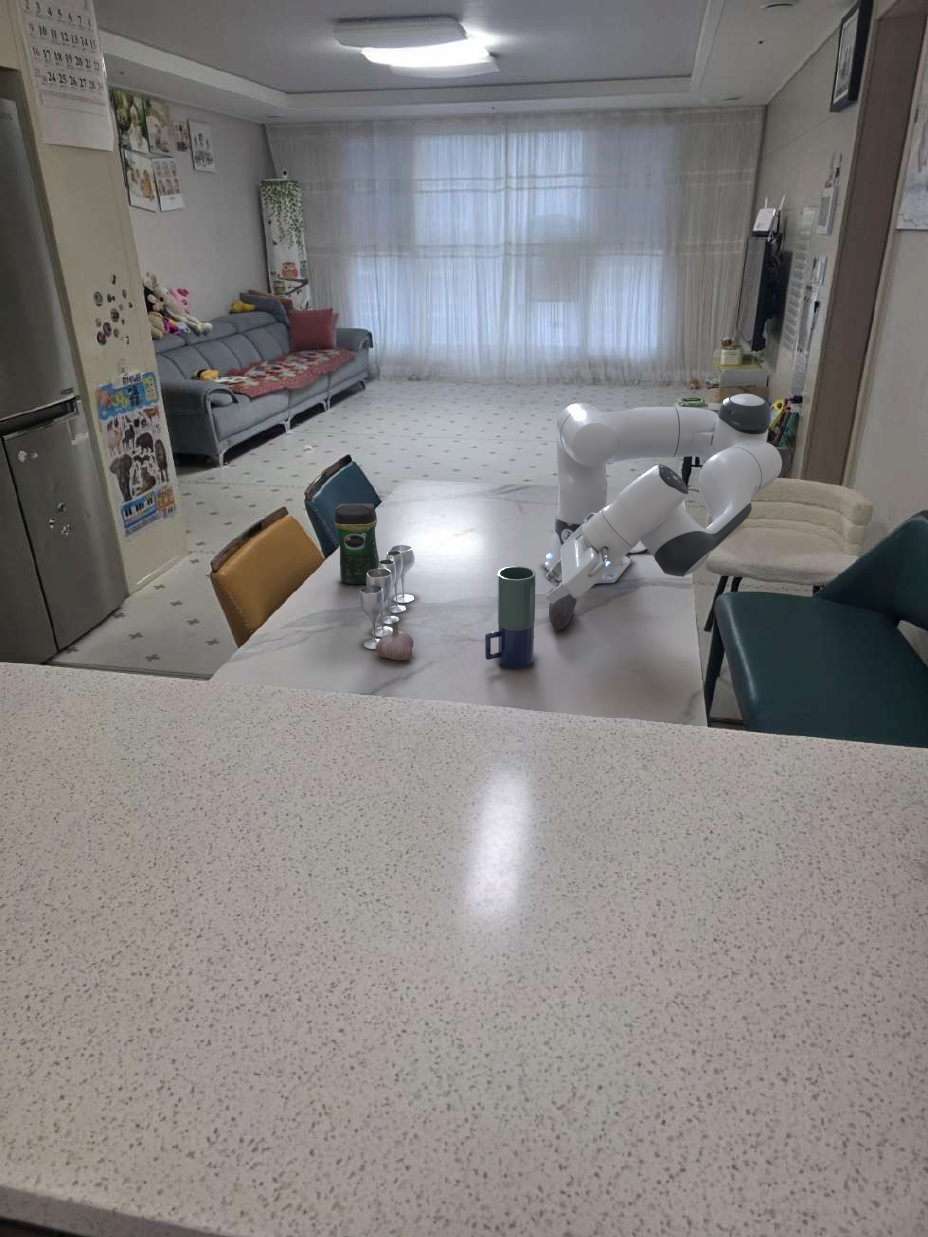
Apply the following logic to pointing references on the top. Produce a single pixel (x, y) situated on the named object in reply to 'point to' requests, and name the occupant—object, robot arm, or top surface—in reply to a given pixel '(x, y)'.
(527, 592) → the green cup
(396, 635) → the garlic bulb
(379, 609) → the goblet set
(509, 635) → the mug
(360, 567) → the coffee jar
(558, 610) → the perforated stone tool
